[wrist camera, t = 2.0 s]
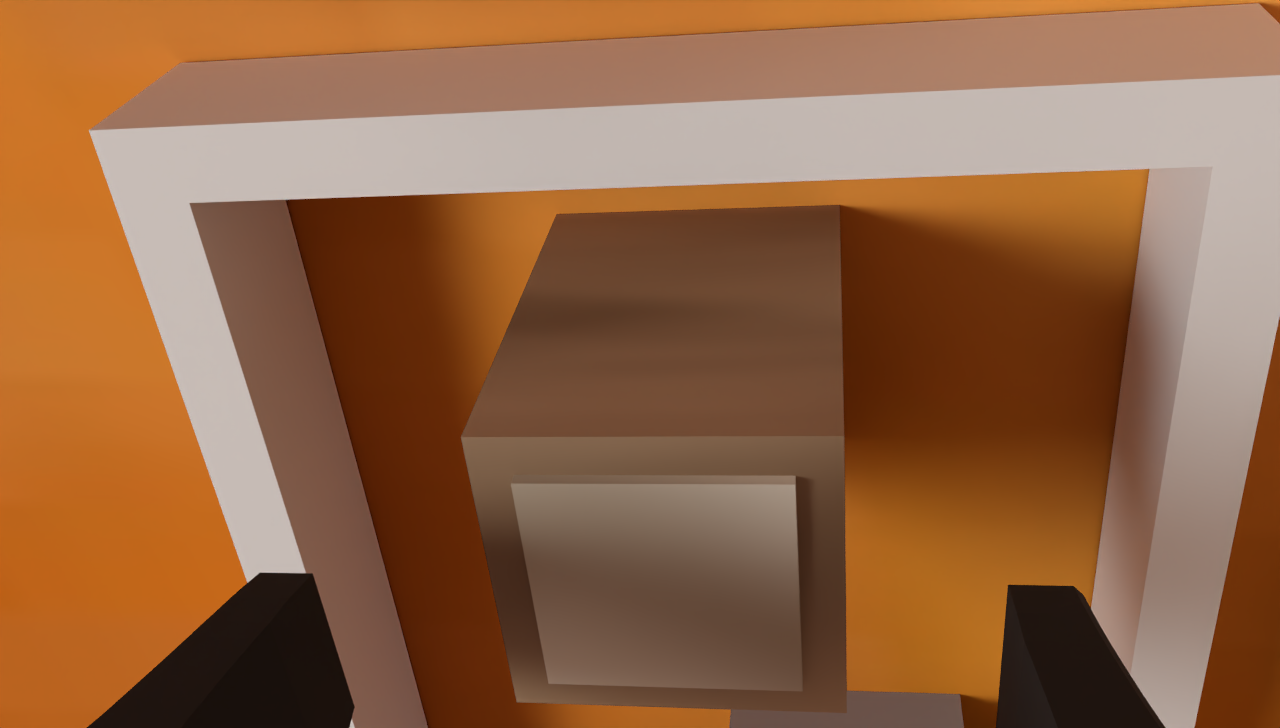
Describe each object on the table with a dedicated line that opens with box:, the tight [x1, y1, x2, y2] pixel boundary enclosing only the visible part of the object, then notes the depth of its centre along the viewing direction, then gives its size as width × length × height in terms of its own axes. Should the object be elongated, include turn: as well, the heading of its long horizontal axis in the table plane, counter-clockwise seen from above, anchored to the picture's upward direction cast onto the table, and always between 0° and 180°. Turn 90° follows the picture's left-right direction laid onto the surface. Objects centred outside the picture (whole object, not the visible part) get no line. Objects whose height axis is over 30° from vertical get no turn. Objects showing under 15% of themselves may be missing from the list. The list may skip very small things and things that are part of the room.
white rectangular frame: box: [89, 3, 1280, 728], centre depth 20 cm, size 18×14×2 cm
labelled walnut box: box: [461, 205, 847, 713], centre depth 16 cm, size 4×4×6 cm
